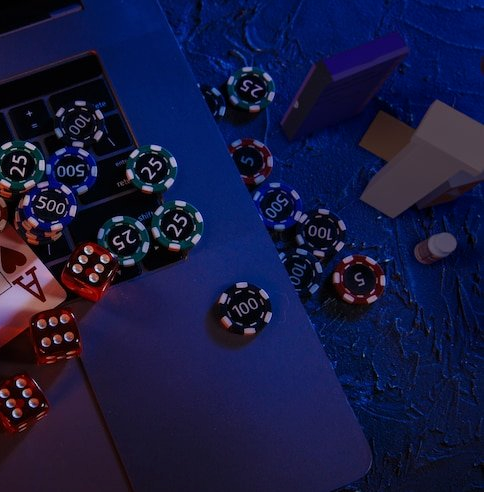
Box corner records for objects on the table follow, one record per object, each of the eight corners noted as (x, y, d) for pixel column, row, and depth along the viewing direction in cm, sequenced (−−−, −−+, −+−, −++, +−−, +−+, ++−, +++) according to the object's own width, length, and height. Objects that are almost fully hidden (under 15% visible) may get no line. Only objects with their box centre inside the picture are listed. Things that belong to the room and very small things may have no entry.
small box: (418, 210, 130) (450, 188, 118) (406, 183, 132) (437, 158, 119) (453, 201, 131) (489, 178, 118) (441, 174, 133) (476, 148, 120)
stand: (416, 197, 131) (502, 135, 102) (399, 227, 129) (482, 172, 100) (366, 168, 133) (436, 98, 104) (348, 197, 131) (415, 134, 102)
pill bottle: (418, 266, 127) (439, 256, 119) (410, 245, 128) (430, 233, 120) (440, 261, 127) (462, 250, 119) (432, 240, 129) (453, 228, 120)
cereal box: (349, 95, 138) (397, 29, 114) (360, 113, 136) (410, 50, 113) (280, 123, 136) (314, 62, 113) (290, 141, 135) (327, 83, 111)
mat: (428, 138, 135) (429, 137, 134) (408, 173, 133) (408, 172, 132) (379, 110, 137) (380, 109, 136) (358, 144, 134) (359, 144, 134)
